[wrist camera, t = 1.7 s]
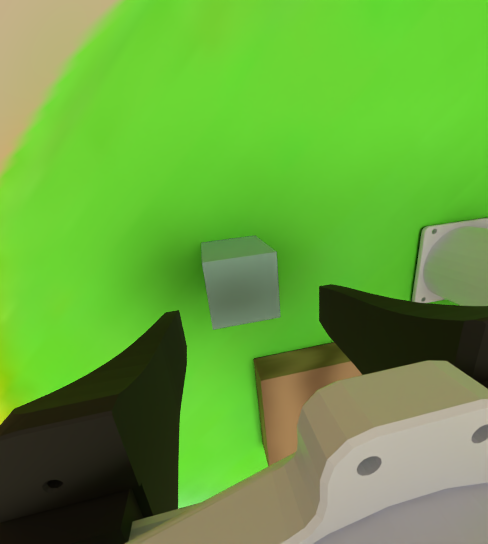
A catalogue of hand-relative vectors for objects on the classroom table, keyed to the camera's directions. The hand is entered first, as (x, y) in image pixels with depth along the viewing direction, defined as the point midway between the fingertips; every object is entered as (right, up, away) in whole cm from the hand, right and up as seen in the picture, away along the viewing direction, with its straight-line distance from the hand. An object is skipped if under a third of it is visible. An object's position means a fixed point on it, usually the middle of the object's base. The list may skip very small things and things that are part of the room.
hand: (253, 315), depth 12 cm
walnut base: (+7, -11, +15) cm, 20 cm away
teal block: (-2, +3, +9) cm, 9 cm away
